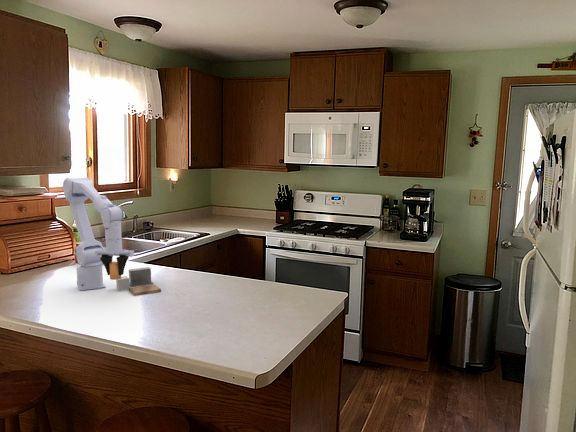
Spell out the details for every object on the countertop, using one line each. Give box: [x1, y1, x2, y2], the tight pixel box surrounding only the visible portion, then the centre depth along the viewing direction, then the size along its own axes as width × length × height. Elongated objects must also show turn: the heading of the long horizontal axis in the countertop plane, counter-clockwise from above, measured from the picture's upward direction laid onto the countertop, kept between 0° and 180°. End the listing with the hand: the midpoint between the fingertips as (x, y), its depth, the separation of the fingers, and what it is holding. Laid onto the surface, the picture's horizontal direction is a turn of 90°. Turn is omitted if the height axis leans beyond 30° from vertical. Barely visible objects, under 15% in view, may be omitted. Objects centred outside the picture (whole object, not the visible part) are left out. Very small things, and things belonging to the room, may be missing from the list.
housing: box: [128, 266, 154, 287], centre depth 193 cm, size 9×4×6 cm, turn 120°
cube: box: [115, 275, 130, 292], centre depth 186 cm, size 4×4×4 cm
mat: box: [128, 283, 162, 297], centre depth 183 cm, size 10×9×1 cm
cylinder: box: [109, 261, 122, 281], centre depth 179 cm, size 4×4×6 cm
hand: (115, 274), depth 179 cm, fingers closed on cylinder, 4 cm apart
